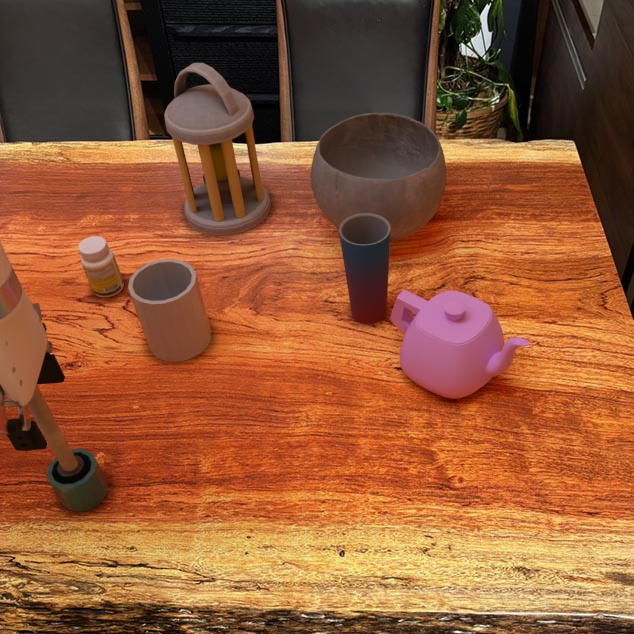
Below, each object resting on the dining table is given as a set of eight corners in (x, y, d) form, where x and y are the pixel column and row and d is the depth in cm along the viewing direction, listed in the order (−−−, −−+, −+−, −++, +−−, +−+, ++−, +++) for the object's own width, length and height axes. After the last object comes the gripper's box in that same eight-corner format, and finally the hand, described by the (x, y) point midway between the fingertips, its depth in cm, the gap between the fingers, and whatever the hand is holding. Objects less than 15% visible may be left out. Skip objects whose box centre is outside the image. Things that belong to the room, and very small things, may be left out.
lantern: (287, 198, 135) (268, 55, 116) (235, 245, 127) (206, 100, 109) (221, 175, 140) (192, 34, 122) (167, 219, 132) (128, 76, 114)
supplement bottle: (101, 275, 123) (84, 232, 117) (129, 279, 123) (114, 235, 116) (87, 296, 120) (69, 253, 114) (116, 300, 120) (100, 256, 113)
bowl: (403, 282, 120) (402, 199, 109) (292, 240, 128) (280, 158, 116) (466, 210, 131) (471, 127, 120) (361, 175, 139) (356, 94, 128)
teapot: (495, 433, 101) (503, 374, 92) (366, 367, 109) (362, 308, 101) (545, 367, 108) (556, 307, 99) (420, 310, 116) (421, 250, 108)
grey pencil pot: (144, 364, 111) (123, 305, 102) (152, 319, 116) (133, 261, 108) (208, 359, 111) (192, 301, 103) (213, 315, 117) (198, 256, 108)
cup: (396, 324, 114) (395, 241, 103) (349, 331, 114) (342, 248, 102) (388, 293, 119) (385, 209, 107) (342, 299, 118) (335, 216, 107)
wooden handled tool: (68, 500, 95) (8, 398, 81) (73, 480, 97) (15, 376, 83) (93, 499, 95) (38, 396, 81) (98, 478, 97) (44, 374, 83)
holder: (56, 513, 95) (42, 489, 91) (65, 474, 99) (52, 450, 95) (104, 510, 95) (91, 486, 91) (111, 471, 99) (99, 446, 95)
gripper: (-39, 235, 78) (25, 356, 91) (-97, 366, 67) (-15, 483, 80) (38, 230, 79) (91, 352, 91) (-7, 360, 67) (61, 478, 80)
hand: (41, 413), depth 86 cm, fingers open, 8 cm apart
